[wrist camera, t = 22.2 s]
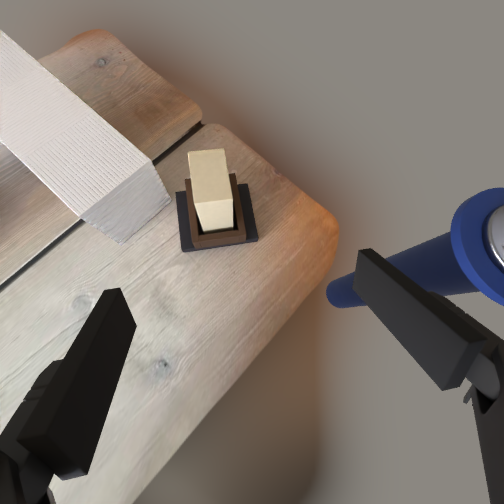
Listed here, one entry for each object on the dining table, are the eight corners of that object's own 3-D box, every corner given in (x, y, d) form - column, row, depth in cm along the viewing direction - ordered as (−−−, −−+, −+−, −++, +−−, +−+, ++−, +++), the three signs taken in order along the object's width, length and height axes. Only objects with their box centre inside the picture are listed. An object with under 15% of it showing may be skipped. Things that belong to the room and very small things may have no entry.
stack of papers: (171, 201, 40) (150, 159, 30) (121, 245, 38) (78, 216, 27) (50, 93, 45) (-5, 25, 34) (-3, 126, 42) (-81, 62, 31)
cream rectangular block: (226, 193, 40) (224, 147, 29) (233, 233, 38) (233, 199, 27) (200, 197, 39) (187, 151, 29) (205, 237, 37) (194, 203, 27)
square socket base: (246, 186, 42) (248, 171, 38) (257, 242, 39) (260, 232, 35) (177, 195, 41) (170, 180, 36) (183, 253, 38) (177, 245, 34)
